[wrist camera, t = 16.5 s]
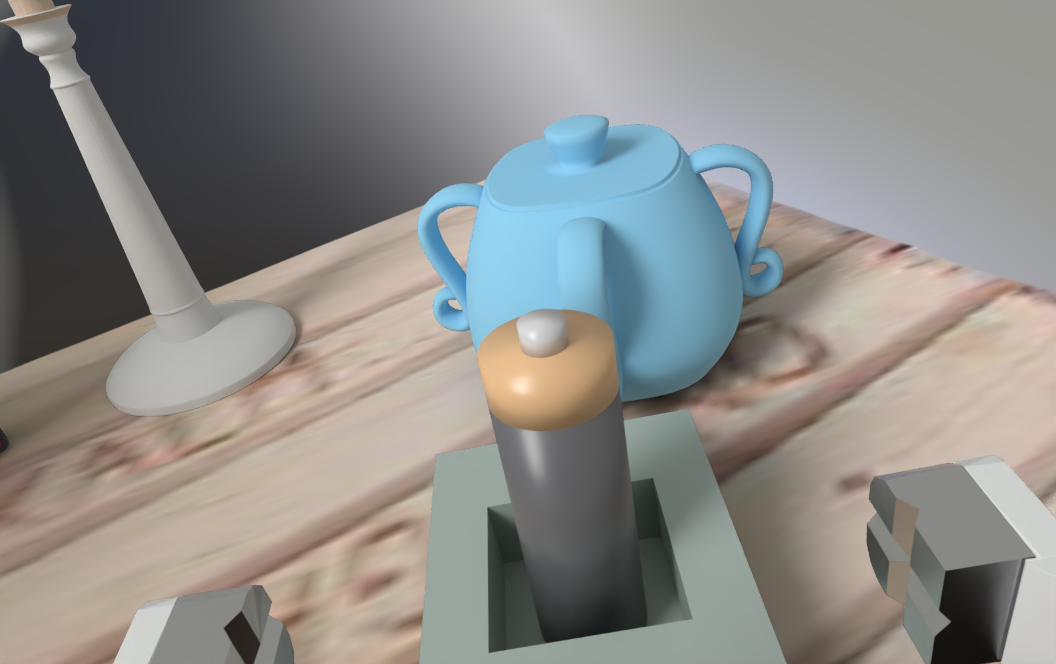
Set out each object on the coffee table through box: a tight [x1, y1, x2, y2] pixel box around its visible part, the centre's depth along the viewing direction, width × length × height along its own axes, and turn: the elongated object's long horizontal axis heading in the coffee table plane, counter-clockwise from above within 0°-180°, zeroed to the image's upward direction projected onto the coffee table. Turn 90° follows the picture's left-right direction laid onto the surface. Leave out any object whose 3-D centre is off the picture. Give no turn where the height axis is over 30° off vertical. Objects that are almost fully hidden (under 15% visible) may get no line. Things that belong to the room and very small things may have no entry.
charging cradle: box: [419, 409, 787, 664], centre depth 28 cm, size 11×14×4 cm
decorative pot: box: [417, 115, 783, 402], centre depth 41 cm, size 16×16×14 cm
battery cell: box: [477, 309, 647, 643], centre depth 25 cm, size 4×4×13 cm
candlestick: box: [0, 0, 296, 416], centre depth 46 cm, size 13×13×30 cm
